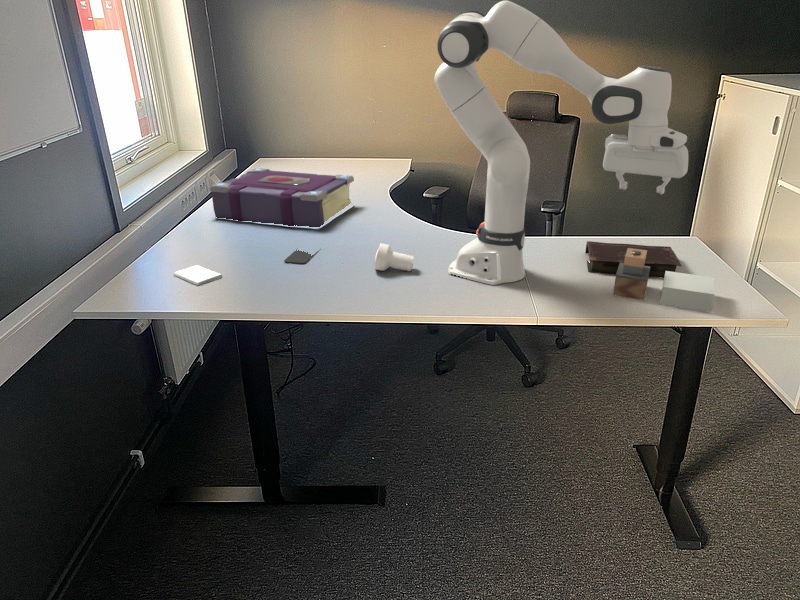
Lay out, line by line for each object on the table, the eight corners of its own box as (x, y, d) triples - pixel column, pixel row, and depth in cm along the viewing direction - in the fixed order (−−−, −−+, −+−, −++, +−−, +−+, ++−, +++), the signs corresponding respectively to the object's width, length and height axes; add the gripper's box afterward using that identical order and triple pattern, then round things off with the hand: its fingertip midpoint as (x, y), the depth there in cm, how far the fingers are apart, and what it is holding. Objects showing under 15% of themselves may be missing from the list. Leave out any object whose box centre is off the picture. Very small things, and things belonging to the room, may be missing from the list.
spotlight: (376, 259, 187) (380, 237, 182) (412, 267, 186) (417, 245, 182) (371, 273, 180) (375, 251, 175) (408, 282, 180) (413, 260, 175)
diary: (584, 254, 195) (586, 239, 193) (667, 260, 190) (670, 244, 188) (588, 275, 179) (590, 259, 177) (678, 282, 174) (682, 265, 172)
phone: (321, 247, 200) (305, 263, 186) (321, 249, 200) (305, 265, 187) (300, 245, 201) (282, 261, 188) (300, 248, 202) (282, 263, 188)
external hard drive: (198, 287, 172) (174, 277, 180) (222, 279, 178) (198, 269, 185) (197, 282, 172) (173, 272, 179) (222, 273, 177) (197, 264, 185)
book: (318, 232, 216) (315, 193, 210) (210, 220, 229) (205, 183, 224) (355, 207, 244) (353, 172, 238) (257, 198, 258) (254, 164, 252)
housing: (622, 273, 163) (625, 254, 160) (625, 264, 168) (628, 246, 166) (642, 276, 161) (645, 257, 159) (644, 267, 167) (647, 249, 164)
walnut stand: (612, 295, 164) (615, 274, 162) (616, 282, 173) (619, 262, 170) (644, 300, 161) (647, 279, 159) (646, 286, 170) (650, 266, 167)
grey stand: (659, 304, 159) (663, 286, 157) (662, 287, 169) (665, 270, 167) (710, 312, 155) (714, 294, 153) (709, 294, 165) (713, 277, 162)
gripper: (600, 135, 153) (596, 189, 159) (685, 141, 141) (677, 199, 147) (611, 131, 158) (607, 183, 164) (694, 136, 145) (686, 193, 151)
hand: (641, 191), depth 155 cm, fingers open, 8 cm apart
